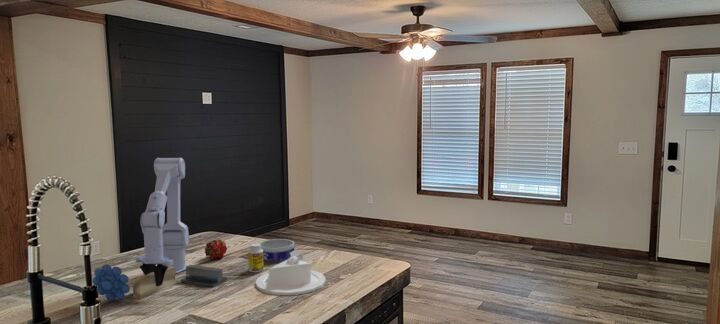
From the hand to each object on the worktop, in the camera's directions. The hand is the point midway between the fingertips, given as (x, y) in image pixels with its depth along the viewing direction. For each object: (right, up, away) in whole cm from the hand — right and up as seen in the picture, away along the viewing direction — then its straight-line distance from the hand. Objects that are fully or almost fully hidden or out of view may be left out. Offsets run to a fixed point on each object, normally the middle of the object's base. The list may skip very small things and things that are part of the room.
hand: (155, 284), depth 160 cm
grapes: (-10, -3, -10) cm, 14 cm away
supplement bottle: (+30, 0, +21) cm, 37 cm away
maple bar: (0, -2, 0) cm, 2 cm away
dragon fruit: (+10, +1, +38) cm, 39 cm away
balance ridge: (+14, -1, +9) cm, 17 cm away
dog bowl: (+35, +1, +40) cm, 53 cm away
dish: (+45, -2, +8) cm, 46 cm away
